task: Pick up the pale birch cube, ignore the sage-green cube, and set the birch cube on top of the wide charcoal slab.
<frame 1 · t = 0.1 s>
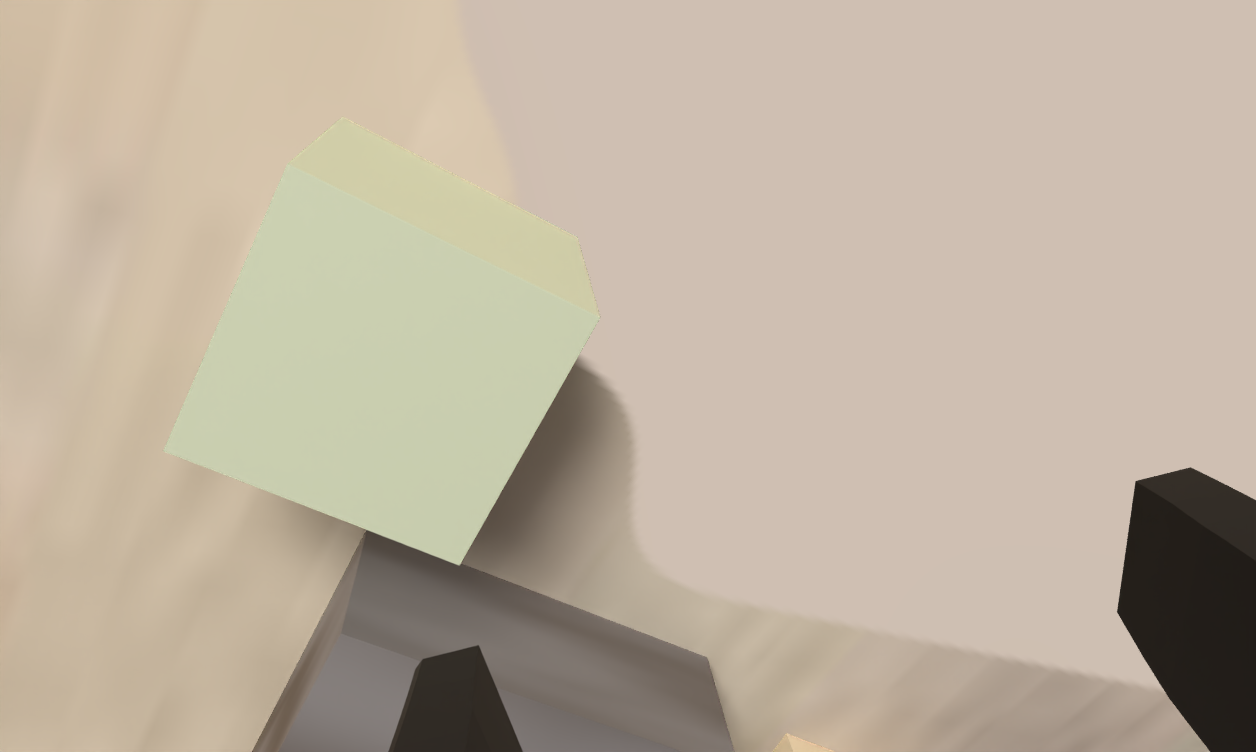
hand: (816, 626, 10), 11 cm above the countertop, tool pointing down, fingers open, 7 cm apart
charcoal slab: (465, 723, 24), on the countertop
sage cube: (410, 287, 19), on the countertop
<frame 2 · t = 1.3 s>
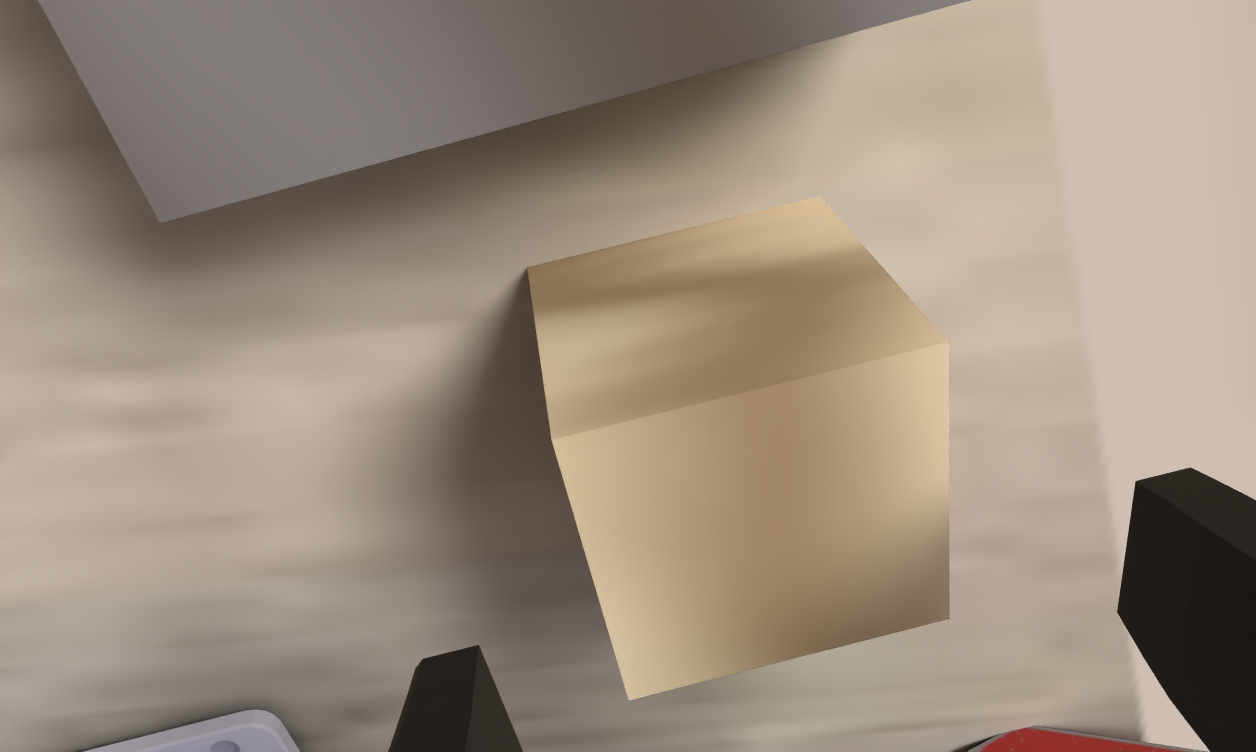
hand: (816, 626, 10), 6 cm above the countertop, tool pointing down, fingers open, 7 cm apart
birch cube: (695, 354, 15), on the countertop
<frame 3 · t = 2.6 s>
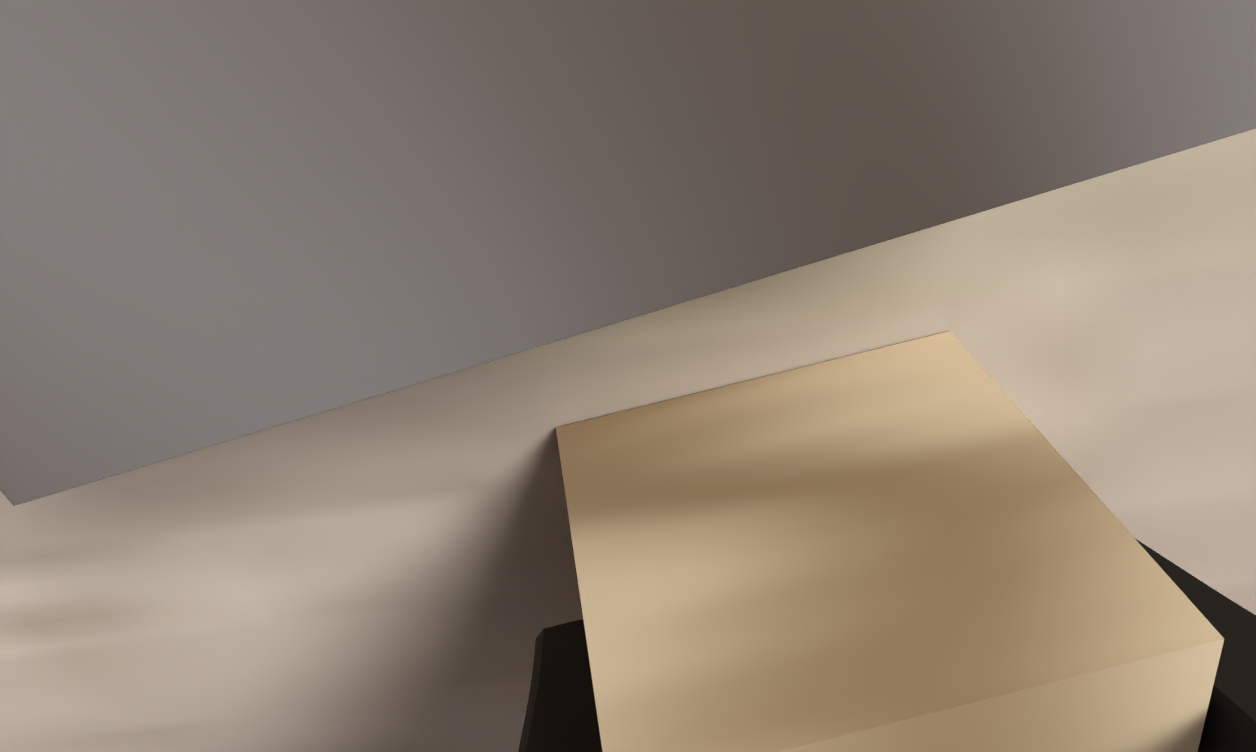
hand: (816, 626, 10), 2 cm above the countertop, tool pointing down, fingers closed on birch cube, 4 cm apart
birch cube: (774, 527, 12), on the countertop, touching gripper
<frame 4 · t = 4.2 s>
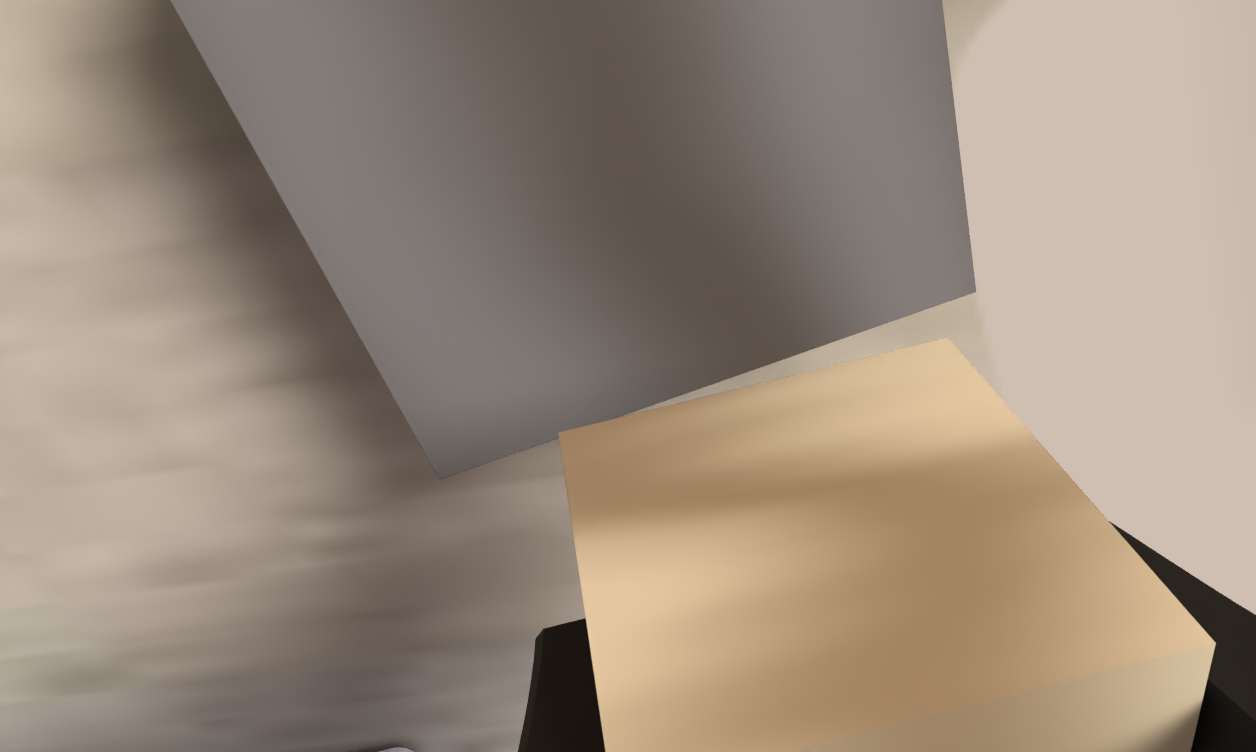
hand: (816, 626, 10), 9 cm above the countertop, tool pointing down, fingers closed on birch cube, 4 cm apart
charcoal slab: (584, 51, 16), on the countertop
birch cube: (774, 531, 12), point 7 cm above the countertop, touching gripper
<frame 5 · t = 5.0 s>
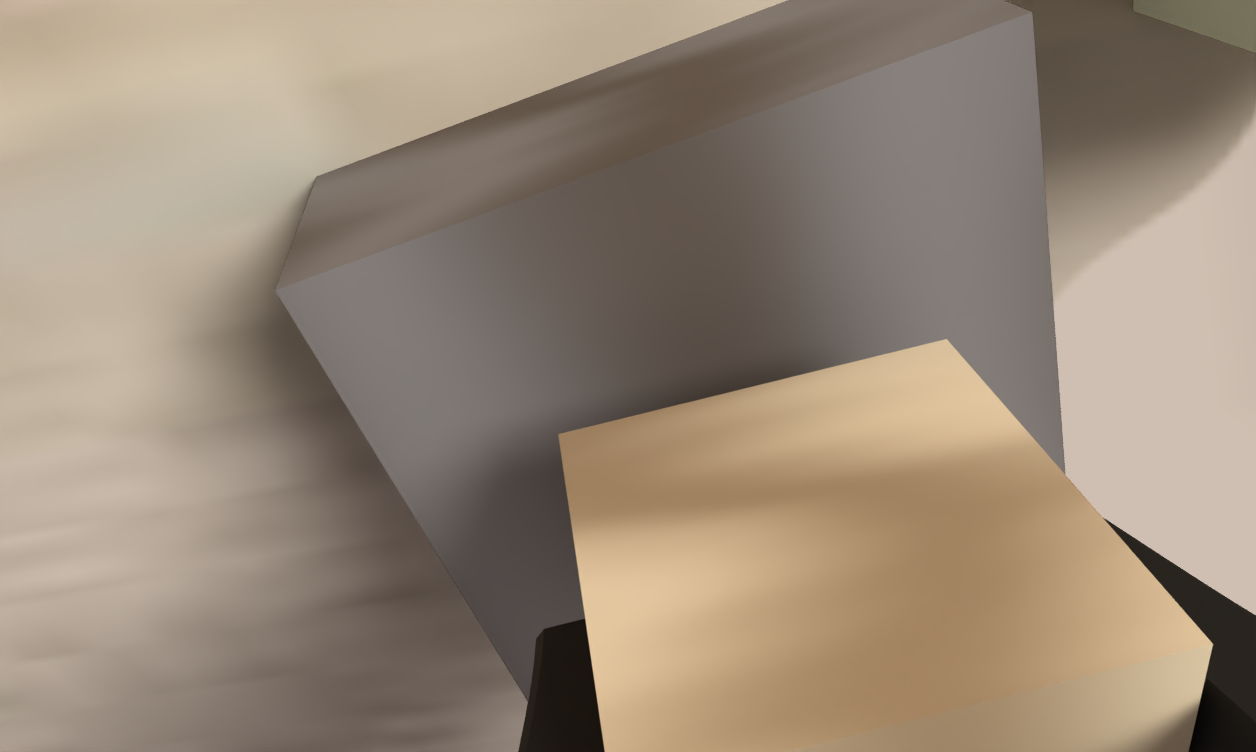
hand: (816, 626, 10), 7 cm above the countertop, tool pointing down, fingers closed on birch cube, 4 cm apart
charcoal slab: (685, 312, 16), on the countertop
birch cube: (774, 532, 12), point 5 cm above the countertop, touching gripper
when the fingers open (7 cm above the countertop, at t = 5.7 s): birch cube drops 2 cm, resting on charcoal slab.
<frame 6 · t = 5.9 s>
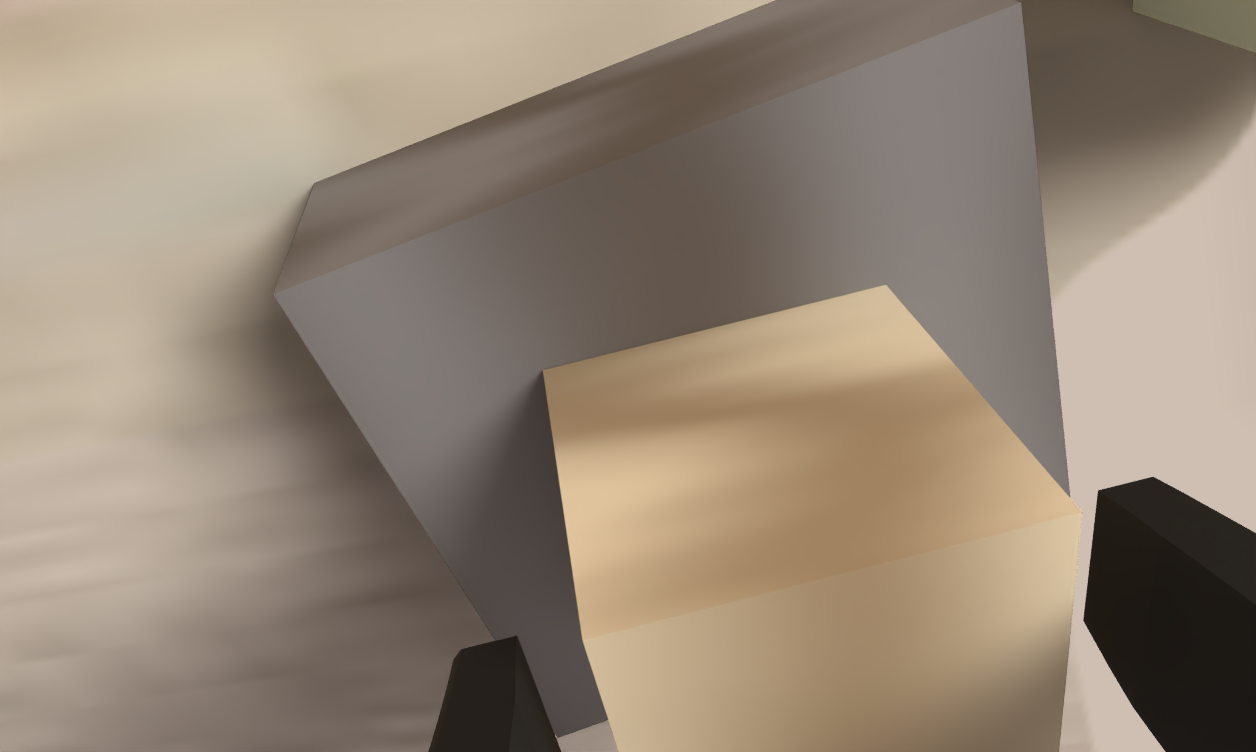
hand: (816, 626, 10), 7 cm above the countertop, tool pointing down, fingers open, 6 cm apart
charcoal slab: (684, 310, 16), on the countertop, touching birch cube
birch cube: (737, 463, 13), point 4 cm above the countertop, touching charcoal slab
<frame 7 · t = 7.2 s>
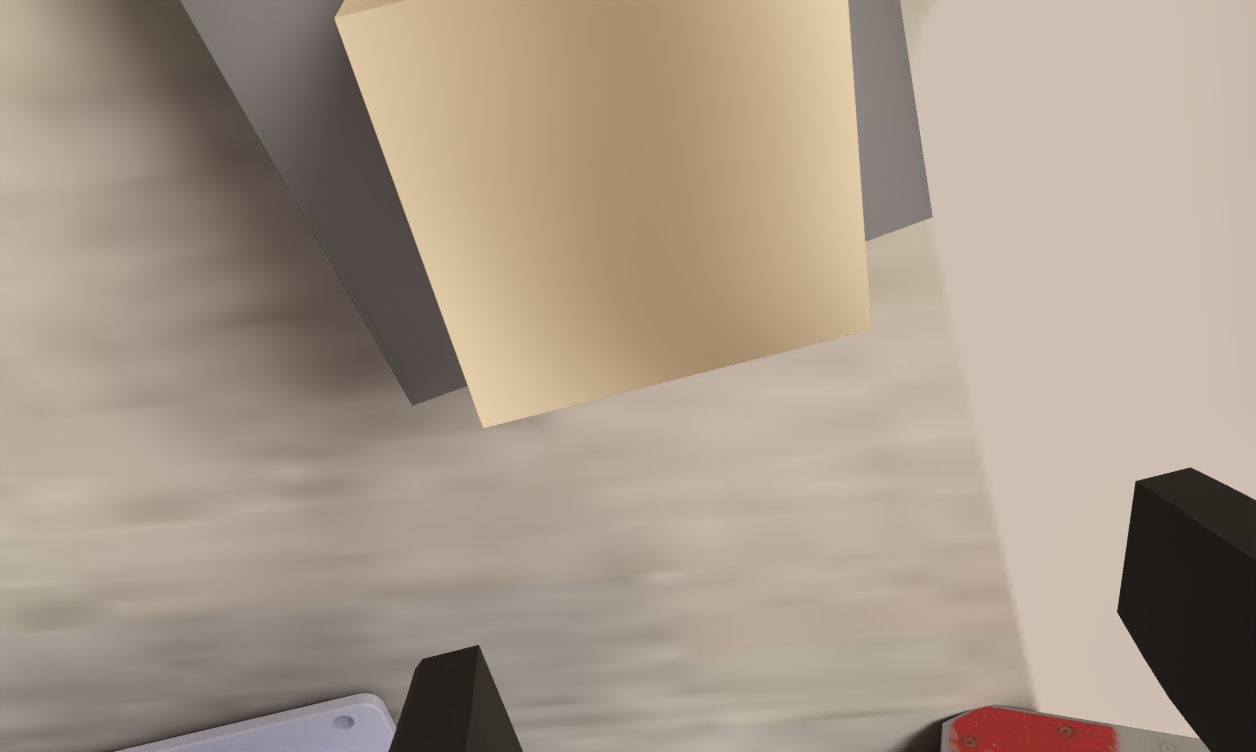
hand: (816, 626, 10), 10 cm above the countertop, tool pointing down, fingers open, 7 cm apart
toy gun: (1196, 701, 30), on the countertop
birch cube: (589, 76, 13), point 4 cm above the countertop
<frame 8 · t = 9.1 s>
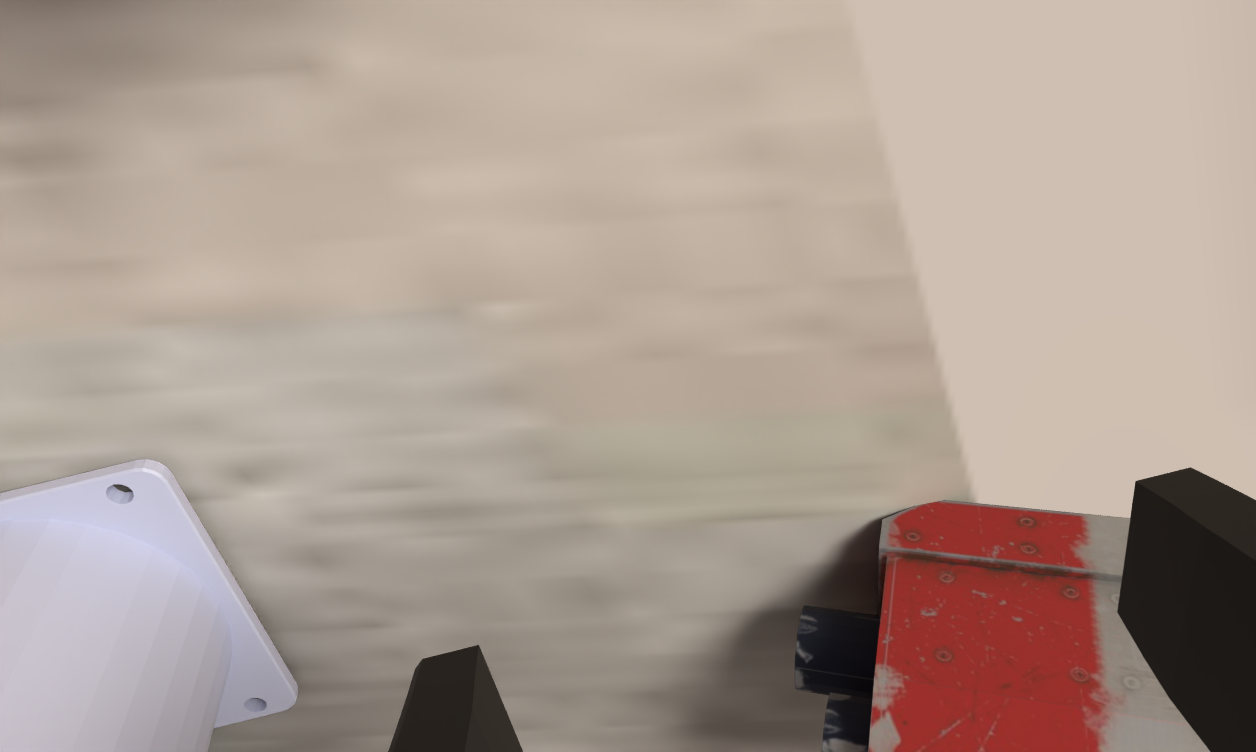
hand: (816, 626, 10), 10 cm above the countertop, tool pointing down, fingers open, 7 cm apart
toy gun: (1182, 510, 26), on the countertop
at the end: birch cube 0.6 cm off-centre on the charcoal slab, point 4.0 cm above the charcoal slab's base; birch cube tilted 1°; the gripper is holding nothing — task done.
